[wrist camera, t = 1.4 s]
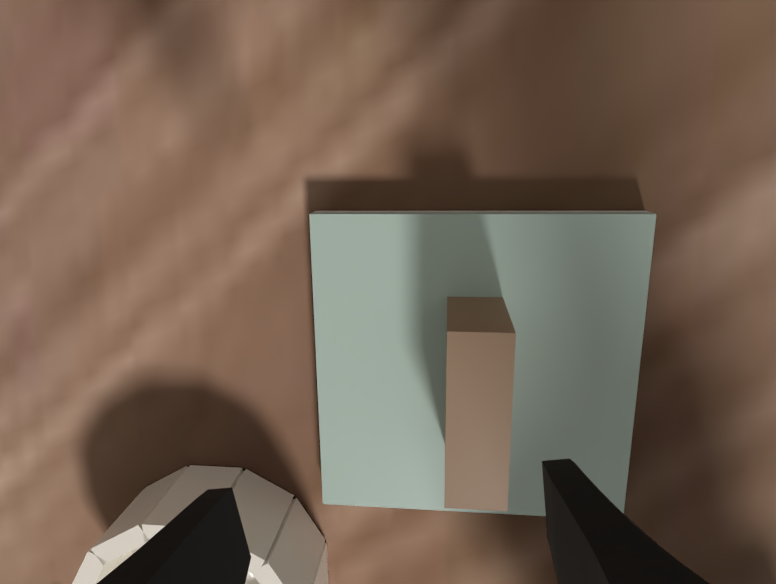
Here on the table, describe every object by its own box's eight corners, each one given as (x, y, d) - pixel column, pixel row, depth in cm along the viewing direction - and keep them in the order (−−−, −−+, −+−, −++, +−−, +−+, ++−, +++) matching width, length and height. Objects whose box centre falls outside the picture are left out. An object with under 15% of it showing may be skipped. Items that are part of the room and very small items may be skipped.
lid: (650, 212, 19) (710, 231, 15) (618, 510, 22) (660, 600, 18) (313, 212, 21) (276, 230, 16) (326, 495, 24) (297, 575, 19)
